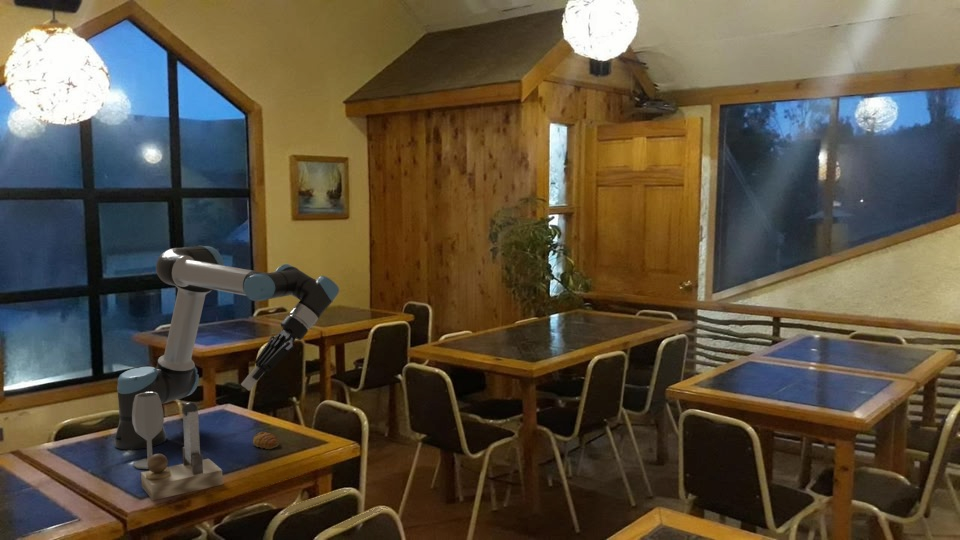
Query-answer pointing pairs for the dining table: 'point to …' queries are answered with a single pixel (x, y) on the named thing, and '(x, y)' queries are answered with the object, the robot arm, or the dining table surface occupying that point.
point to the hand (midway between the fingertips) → (245, 387)
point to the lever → (191, 431)
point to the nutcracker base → (179, 476)
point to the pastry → (265, 440)
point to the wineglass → (147, 421)
